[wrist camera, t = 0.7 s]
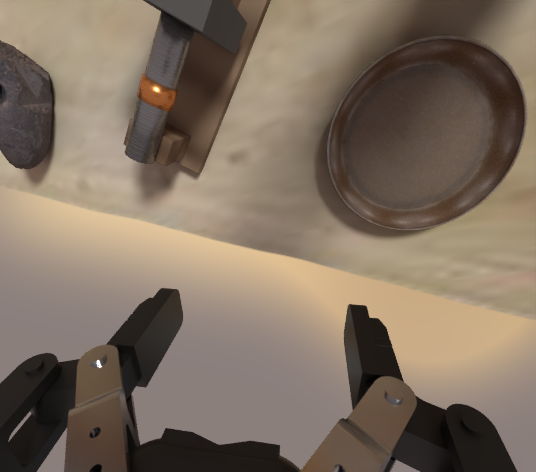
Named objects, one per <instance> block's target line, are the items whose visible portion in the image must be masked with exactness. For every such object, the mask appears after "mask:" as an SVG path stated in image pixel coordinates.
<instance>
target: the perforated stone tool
mask: <svg viewBox="0 0 536 472" xmlns="http://www.w3.org/2000/svg"><path fill="white" fill-rule="evenodd" d="M49 79H50V76H49V73H48V72H47V71H45V70H44V69H43V68H42V67H41V66H39V65H38V64H36V63H35V62H34V61H33V60H31V59H30V58H29V57H28V56H27V55H25V54H23V53H22V52H20V51H19V50H17V49H16V48H15V47H14V46H11V45H9V44H7V43H4V42H2V41H0V150H1V152H2V153H3V155H4V156H5V158H6V159H7V160H8V161H9V163H11V164H12V165H13V166H14V167H16V168H20V169H22V168H25V169H32V168H34V167H36V166H37V165H38V164H40V162H41V161H42V160H43V158H44V157H45V155H46V153H47V151H48V148H49V144H50V140H51V126H52V107H53V101H52V93H51V85H50V80H49Z"/></svg>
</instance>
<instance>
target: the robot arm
mask: <svg viewBox="0 0 536 472" xmlns="http://www.w3.org/2000/svg"><path fill="white" fill-rule="evenodd" d="M182 321H183V311H182V306H181V300H180V294H179V291H178V290H177V289H166V288H161V289H160V290H159V291H158V292H157V294H156V295H155V296H154V297H153V298H148V299H147V300H145V301H144V302H142V303H141V304H140V305H139V306H138V307H137V308H136V309H135V311H134V312H133V314H131V315H130V317H129V318H128V320H127V321H125V323H124V324H123V325H122V326H121V327H120V329H119V330H118V331H117V332H116V334H115V335H114V336H113V337H112V338H111V339H110V341H109V342H108V343H107V344H106V345H101V346H98V347H95V348H93V349H91V350H89V351H88V352H86V353H85V354H84V355H83V356H82V357H81V358H80V359H77V360H71V361H65V362H58V360H57V357H56V356H55V355H54V354H51V353H44V354H39V355H36V356H34V357H32V358H29V359H27V360H26V361H24V362H23V363H22V364H20V365H19V366H18V367H17V368H16V369H15V370H14V371H13V372H12V373H11V374H10V375H9V376H8V377H7V378H6V379H5V380H4V381H2V382H1V383H0V472H37V470H38V469H39V467H40V466H41V464H42V463H43V461H44V460H45V459H46V457H47V456H48V454H49V452H50V451H51V450H52V448H53V447H54V445H55V444H56V442H57V441H58V440H59V438H60V437H61V435H62V434H63V432H64V431H65V429H66V428H67V439H66V453H65V467H64V472H391V470H392V468H393V466H394V464H395V462H396V460H398V461H400V462H402V463H404V464H406V465H408V466H410V467H412V468H414V469H416V470H419V471H420V472H517V470H516V468H515V466H514V464H513V462H512V460H511V458H510V456H509V454H508V452H507V450H506V448H505V446H504V444H503V442H502V440H501V438H500V436H499V434H498V432H497V430H496V428H495V426H494V425H493V424H492V422H491V421H490V420H489V419H488V418H487V417H486V416H485V415H483V414H482V413H481V412H479V411H478V410H476V409H474V408H472V407H470V406H467V405H463V404H453V405H451V406H449V407H448V408H447V410H445V409H442V408H439V407H437V406H435V405H432V404H430V403H427V402H425V401H423V400H421V399H420V398H418V397H417V396H415V394H414V392H413V391H412V390H411V388H410V387H409V386H408V385H407V384H406V383H404V381H403V378H402V375H401V372H400V369H399V366H398V363H397V360H396V357H395V353H394V351H393V348H392V344H391V341H390V340H389V336H388V332H387V329H386V327H385V326H384V325H383V323H382V322H381V321H380V320H379V319H377V318H369V315H368V310H367V307H366V306H363V305H352V304H349V305H348V309H347V315H346V322H345V329H344V346H345V353H346V362H347V369H348V377H349V384H350V392H351V400H352V407H353V411H352V413H351V414H350V415H349V417H348V418H347V419H343V418H342V419H340V420H339V421H338V422H337V424H336V425H335V426H334V427H333V429H332V430H331V431H330V433H329V434H328V435H327V437H326V438H325V439H324V441H323V442H322V443H321V445H320V446H319V447H318V449H317V450H316V451H315V453H314V454H313V455H312V456H311V458H310V459H309V461H308V462H307V463H306V464H305V466H304V467H303V468H302V469H301V470H300V469H299V468H298V467H297V466H296V465H294V464H293V463H292V462H291V461H289V460H287V459H286V458H284V457H282V456H280V445H275V444H268V443H262V442H255V441H247V442H239V443H231V444H224V445H218V444H216V443H213V442H211V441H209V440H207V439H205V438H203V437H201V436H199V435H197V434H195V433H193V432H188V431H181V430H175V429H168V428H166V429H165V431H164V433H163V436H162V438H160V439H156V440H152V441H149V442H147V443H144V444H142V445H140V441H139V437H138V430H137V423H136V416H135V408H134V401H133V396H132V392H133V390H134V388H135V387H136V386H139V387H146V386H147V385H148V383H149V381H150V380H151V378H152V376H153V374H154V372H155V371H156V369H157V367H158V365H159V364H160V362H161V360H162V359H163V357H164V355H165V353H166V352H167V350H168V348H169V346H170V345H171V343H172V341H173V339H174V338H175V336H176V334H177V332H178V330H179V329H180V327H181V325H182ZM29 411H31V413H32V414H31V415H30V417H29V418H28V419H27V420H26V422H25V423H24V424H23V425H22V426H21V428H20V429H19V430H18V431H17V433H16V434H15V435H14V436H13V437H12V439H11V440H10V441H9V442H8V440H9V437H10V435H11V433H12V432H13V431H14V429H15V428H16V427H17V426H18V424H19V423H20V422H21V421H22V420H23V418H24V417H25V416H26V415H27V414H28V413H29Z"/></svg>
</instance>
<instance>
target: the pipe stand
mask: <svg viewBox="0 0 536 472" xmlns="http://www.w3.org/2000/svg"><path fill="white" fill-rule="evenodd" d="M270 1H271V0H231V2H232V3H233V4H234V6H235V7H236V8H237V10H238V11H239V13H240V14H241V15H242V17H243V18H244V19H245V21H246V22H247V26H246V28H245V31H244V33H243V36H242V39H241V41H240V44H239V46H238V49H237V52H236V54H233V53H232V52H230V51H228V50H226V49H225V48H223V47H221V46H220V45H218V44H216V43H214V42H213V41H211V40H209V39H208V38H206V37H204V36H202V35H201V34H199V33H197V32H196V31H195V33H194V36H193V39H192V42H191V45H190V49H189V52H188V55H187V58H186V61H185V64H184V68H183V71H182V74H181V77H180V80H179V83H178V87H177V90H178V94H177V97H176V100H175V103H174V106H173V110H172V111H170V112H169V115H168V118H167V121H166V125H165V128H164V131H163V134H162V137H161V140H160V144H159V147H158V150H157V153H156V156H155V159H154V161H156V162H158V163H160V164H162V165H164V166H166V165H168V164H170V163H173V162H177V163H179V164H181V165H183V166H185V167H187V168H189V169H190V170H192V171H194V172H196V173H200V172H201V171H202V170H203V167H204V165H205V162H206V160H207V157H208V155H209V152H210V150H211V147H212V145H213V142H214V140H215V137H216V135H217V132H218V130H219V127H220V125H221V122H222V120H223V117H224V115H225V113H226V110H227V108H228V105H229V103H230V100H231V98H232V95H233V93H234V90H235V88H236V85H237V83H238V80H239V78H240V75H241V73H242V70H243V68H244V65H245V63H246V60H247V58H248V55H249V53H250V50H251V48H252V46H253V43H254V41H255V38H256V36H257V33H258V31H259V28H260V26H261V23H262V21H263V18H264V16H265V13H266V11H267V8H268V6H269V3H270ZM158 23H159V22H158ZM157 27H158V26H157ZM153 42H154V41H153ZM152 46H153V45H152ZM151 50H152V49H151ZM148 61H149V60H148ZM147 65H148V64H147ZM146 69H147V68H146ZM137 103H138V102H137ZM136 107H137V106H136ZM132 122H133V119H130V122H129V126H128V130H127V133H126V137H125V141H124V145H127V141H128V137H129V133H130V130H131V126H132Z"/></svg>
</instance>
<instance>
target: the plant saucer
mask: <svg viewBox="0 0 536 472" xmlns="http://www.w3.org/2000/svg"><path fill="white" fill-rule="evenodd" d="M526 125H527V102H526V97H525V92H524V89H523V86H522V83H521V81H520V79H519V77H518V75H517V73H516V72H515V70H514V69H513V67H512V66H511V65H510V63H509V62H508V61H507V60H506V59H505V58H504V57H503V56H502V55H501V54H499V53H498V52H497V51H496V50H494V49H493V48H491V47H489V46H488V45H486V44H484V43H481V42H479V41H476V40H473V39H470V38H466V37H459V36H433V37H427V38H422V39H418V40H415V41H412V42H409V43H406V44H404V45H402V46H399V47H397V48H395V49H393V50H391V51H390V52H388V53H386V54H385V55H383V56H382V57H380V58H379V59H377V60H376V61H375V62H373V63H372V64H371V65H370V66H369V67H367V68H366V69H365V70H364V71H363V72H362V73H361V74H360V75H359V77H358V78H357V79H356V80H355V81H354V82H353V84H352V85H351V86H350V88H349V89H348V90H347V92H346V93H345V95H344V97H343V98H342V100H341V102H340V104H339V106H338V108H337V110H336V112H335V115H334V117H333V120H332V123H331V127H330V131H329V136H328V143H327V161H328V168H329V173H330V176H331V179H332V182H333V185H334V187H335V189H336V191H337V192H338V194H339V196H340V197H341V199H342V200H343V201H344V203H345V204H346V205H347V206H348V207H349V208H350V209H351V210H352V211H353V212H355V213H356V214H357V215H359V216H360V217H362V218H363V219H365V220H367V221H368V222H370V223H373V224H375V225H378V226H381V227H385V228H389V229H395V230H421V229H427V228H432V227H436V226H440V225H442V224H445V223H448V222H450V221H453V220H455V219H457V218H459V217H461V216H463V215H465V214H466V213H468V212H469V211H471V210H472V209H474V208H475V207H477V206H478V205H480V204H481V203H482V202H483V201H484V200H486V199H487V198H488V197H489V196H490V195H491V194H492V193H493V192H494V191H495V190H496V189H497V188H498V186H499V185H500V184H501V183H502V181H503V180H504V179H505V178H506V176H507V175H508V173H509V172H510V170H511V168H512V167H513V165H514V163H515V161H516V159H517V157H518V155H519V152H520V150H521V147H522V144H523V140H524V137H525V131H526Z"/></svg>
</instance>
